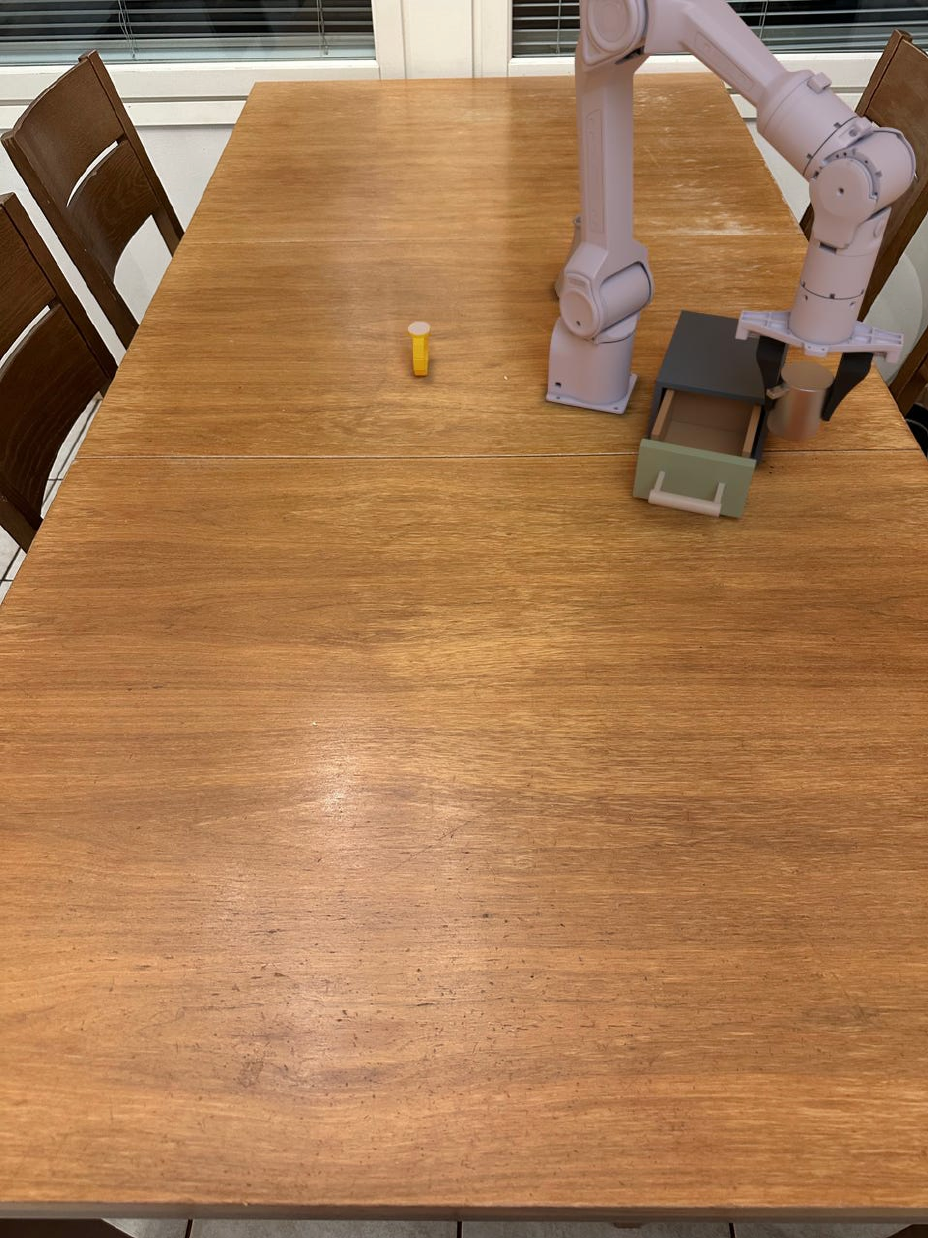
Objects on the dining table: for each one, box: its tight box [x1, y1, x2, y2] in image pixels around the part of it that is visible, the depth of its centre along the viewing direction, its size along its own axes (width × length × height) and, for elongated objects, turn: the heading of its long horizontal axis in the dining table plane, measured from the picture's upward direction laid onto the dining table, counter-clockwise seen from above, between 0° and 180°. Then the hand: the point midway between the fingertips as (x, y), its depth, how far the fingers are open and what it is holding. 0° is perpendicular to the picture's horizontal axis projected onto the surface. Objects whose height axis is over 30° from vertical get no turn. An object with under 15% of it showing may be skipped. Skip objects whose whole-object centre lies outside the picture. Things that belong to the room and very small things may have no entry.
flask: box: [553, 213, 581, 298], centre depth 126 cm, size 7×7×10 cm
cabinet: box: [646, 309, 790, 467], centre depth 107 cm, size 15×13×9 cm
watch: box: [407, 321, 432, 377], centre depth 116 cm, size 6×3×6 cm, turn 178°
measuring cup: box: [766, 360, 835, 442], centre depth 93 cm, size 7×5×6 cm
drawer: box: [632, 388, 762, 519], centre depth 99 cm, size 18×11×7 cm, turn 161°
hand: (796, 410), depth 94 cm, fingers closed on measuring cup, 5 cm apart
